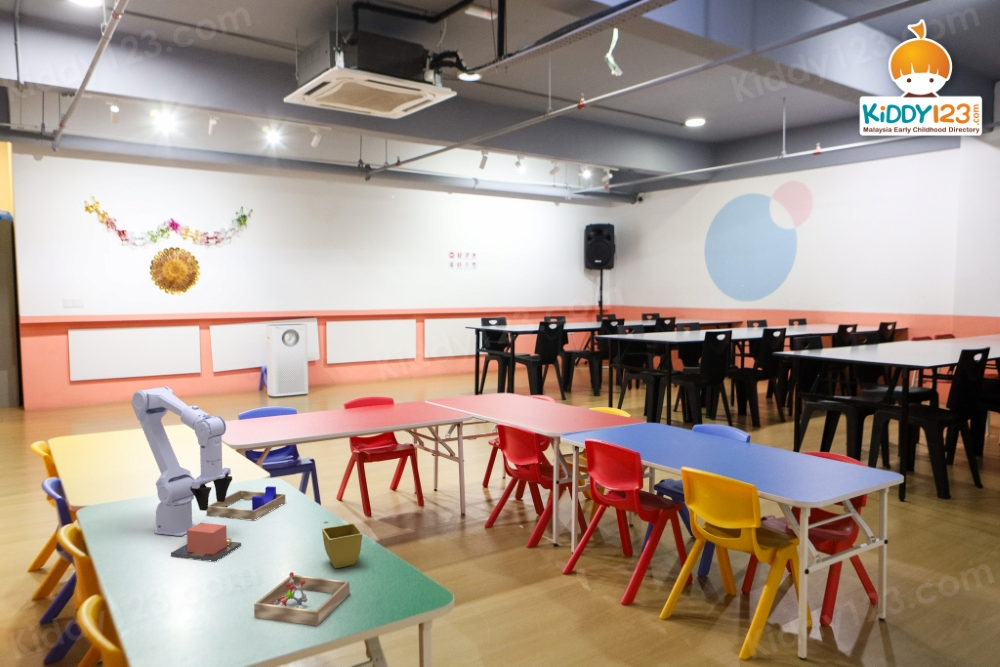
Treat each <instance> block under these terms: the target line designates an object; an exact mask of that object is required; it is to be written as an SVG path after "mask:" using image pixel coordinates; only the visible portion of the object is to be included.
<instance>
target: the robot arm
mask: <svg viewBox="0 0 1000 667" xmlns="http://www.w3.org/2000/svg"><path fill="white" fill-rule="evenodd" d="M130 404H131V406H132V409H133V412H134V414H135V416H136V418H137V421H139V423H140V425H141V428H142V431H143V433H144V435H145V438H146V441H147V443H148V445H149V447H150V450H151V453H152V455H153V458H154V460H155V463H156V465H157V467H158V470H159V472H160V476H159V477H158V478H157V480H156V482H155V486H156V490H157V497H158V499H159V501H160V502H159V503H158V505H157V506H156V509H155V531H153V532H154V534H158V535H167V536H175V537H182V536H185V535H187V530H188V529H190V528H192V527H194V526H196V525H197V524H193V512H192V511H193V508H192V502H193V501H192V500H194V499H195V500H196V502H197V506H198V508H199V511H205V512H207V509H208V506H209V499H210V498H209V497H210V493H211V491H212V486H207V484H209V483H211V482H212V483H213V484H214V488H215V497H216V502H224V501H225V498H226V497H227V494H228V489H229V487H230V484H231V483H232V482H233V476H231V467H223V441H222V440H223V439H222V438H223V437H222V436H223V435H224V434H225V433H226V430H227V424H226V421H225V420H224V418H222V416H220V415H216V416H213V415H210V413H207V412H206V411H204V410H203V409H201V408H200V406H199V405H187V403H185V402H184V401H182V400H181V399H180V398H178V397H177V396H176V394H175V393H174V390H173V389H171V388H170V387H169V386H166V385H164V386H161V387H155V388H154V387H153V388H149V389H138V390H135V392H134V393H133V395H132V399H131V403H130ZM168 411H170V412H171V413H174V414H176V415H177V416H179V417H180V422H182V424H184V425H186V426H187V427H189V428H190V429H192V430H193V431H194V433H195V436H196V438H197V443H198V445H199V450H200V452H199V454H200V455H199V457H200V475H199V476H198V477H196V478H194V477H193V475H192V474H191V471H190V470H189V469H187V468H184V467H181V466H180V463H179V461H178V458H177V456H176V453H175V451H174V449H173V446H172V444H171V442H170V439H169V437H168V435H167V432H166V430H165V428H164V425H163V423H162V418H163V417H164V416H166V414H167V413H168Z"/></svg>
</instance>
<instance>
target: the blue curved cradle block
mask: <svg viewBox="0 0 1000 667" xmlns="http://www.w3.org/2000/svg"><path fill="white" fill-rule="evenodd" d="M264 490H265V491H264V493H265V495H262V496H254V497H252V501H251V510H256V509H258V508H259V507H261V506H263V505H265V504H267V503H268V502H270V501H272V500H274V499H276V494H277V486H266V487H265V489H264Z"/></svg>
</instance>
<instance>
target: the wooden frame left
mask: <svg viewBox="0 0 1000 667" xmlns="http://www.w3.org/2000/svg"><path fill="white" fill-rule="evenodd" d="M262 495H265V491H264V492H262V491H253V490H238V491H236V492H234V493H232V494H230V495H228V496H227V495H226V498H225V501H224V502H217V501H214V502H213V503H211V504H208V509H207V510H206V516H207V517H214V516H219V517H218V518H224V517H232V518H231V519H234V518H243V519H252V520H251V521H253V520H255V519H257V518H258V517H260V516H262V515H264V514H266V513H267V514H269V513H270V512H269V511H271V510H273V509H274V508H276V507H278V506H279V505H281V504H283V503H285V504H286V494H284V493H276V499H274V500H272V501H270V502H268V503H267V504H265V505H263V506H261V507H259V508H258V509H256V510H252V509H245V508H234V507H229V506H231V505H233V504H235V503H237V502H239V501H241V500H240V499H247V500H246V501H250V500H252V497H254V496H262ZM238 500H239V501H238ZM236 501H237V502H236ZM234 502H235V503H234ZM232 503H233V504H232ZM230 504H231V505H230ZM228 505H229V506H228ZM283 505H284V504H283ZM226 506H227V507H226ZM281 506H282V505H281ZM278 508H279V507H278ZM276 509H277V508H276ZM274 510H275V509H274ZM274 510H273V511H274ZM268 512H269V513H268ZM271 512H272V511H271ZM267 514H266V515H267ZM264 516H265V515H264ZM262 517H263V516H262ZM260 518H261V517H260ZM243 519H242V520H243ZM257 520H258V519H257ZM255 521H256V520H255Z"/></svg>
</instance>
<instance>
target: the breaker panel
mask: <svg viewBox="0 0 1000 667" xmlns="http://www.w3.org/2000/svg"><path fill="white" fill-rule="evenodd" d="M239 546H241V547H242V542H238V541H232V538H227V547H225V548H223V549H222V550H220V551H218V552H217V553H215V554H213V555H211V554H203V553H194V552H187V543H186V544H185V545H182V546H181V547H179V548H177V549H175V550H173V551H171V552H170V557H171V556H172V557H173V558H179V557H181V559H188V558H193V559H192V560H196V559H201V560H200V561H204V560H211V561H210V562H212V561H216V562H218V561H219V560H218V559H220V558H221V559H223V558H224V557H226V556H228V555H229V554H230V552H231V551H233V550H234V551H236V550H237V549H239V548H240V547H239ZM238 547H239V548H238ZM236 548H237V549H236ZM235 549H236V550H235ZM234 551H233V552H234ZM228 553H229V554H228ZM231 553H232V552H231ZM227 554H228V555H227ZM225 555H226V556H225ZM223 556H224V557H223ZM222 557H223V558H222ZM221 559H220V560H221ZM217 560H218V561H217Z"/></svg>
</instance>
